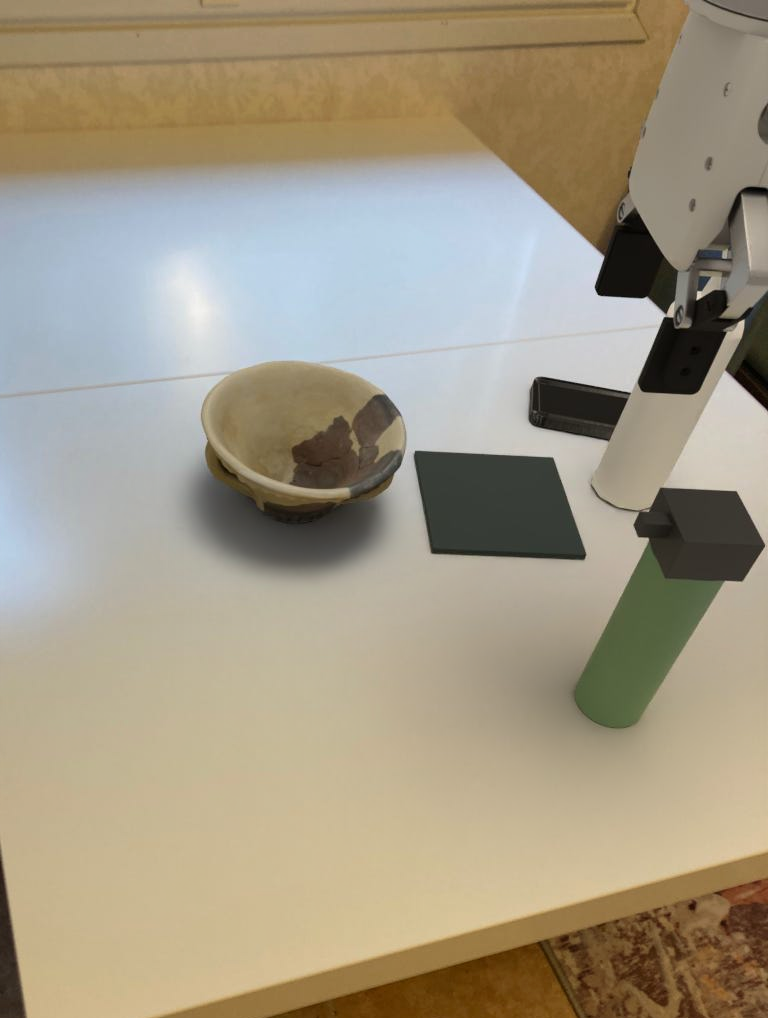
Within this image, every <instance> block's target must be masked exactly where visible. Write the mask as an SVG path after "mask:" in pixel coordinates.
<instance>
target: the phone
mask: <svg viewBox="0 0 768 1018" xmlns="http://www.w3.org/2000/svg"><path fill="white" fill-rule="evenodd" d="M630 394H631V392H630V391H624V390H618V389H613V388H609V387H603V386H596V385H593V384H587V383H580V382H576V381H569V380H565V379H559V378H553V377H549V376H536V377H534V379H533V381H532V384H531V387H530V396H529V397H530V398H529V414H528V416H529V417H528V418H529V422H531V423H532V425H533V424H534V425H535V426H538V427H542V428H547V429H554V430H557V431H563V432H568V433H575V434H579V435H580V434H581V435H585V436H589V437H590V436H591V437H595V438H601V439H607V440H610V439H611V436H612V434H613V432H614V430H615V428H616V425H617V423H618V421H619V419H620V416H621V414H622V412H623V410H624V408H625V405H626V403H627V401H628V399H629V397H630Z"/></svg>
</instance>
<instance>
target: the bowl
mask: <svg viewBox="0 0 768 1018" xmlns="http://www.w3.org/2000/svg"><path fill="white" fill-rule="evenodd" d="M200 421H201V425H202V429H203V431H204V433H205V437H206V440H207V442H206V444H205V449H204V457H205V461H206V465H207V468H208V470H209V472H210V474H211V475H213V477H214V478H215V479H216V480H218V481H219V482H221V483H222V484H224V485H226V486H228V487H229V488H231V489H233V490H234V491H237V492H239V493H240V494H242V495H244V496H247V497H249V498H251V500H253V501H255V502H256V503H255V504H256V507H257V508H258V509H259V510H260V511H261V512H263V513H264V515H265V516H268V517H270V518H272V519H274V520H276V521H277V520H278V521H280V522H283V523H287V524H288V523H290V524H300V523H301V524H303V523H306V522H314V521H316V520H318V519H321V518H323V517H325V516H326V515H327V514H329V513H331V512H333V511H334V510H335V508H336V507H337V506H340V505H344V504H351V503H352V504H353V503H357V502H362V501H365V500H369V499H374V498H376V497H377V496H379V495H381V494H382V493H384V492H385V491H386V490H387V489H388V488H389V487H390V486H391V485H392V482H393V479H394V477H395V473H396V472H397V471H398V470H400V468H401V466H402V465H403V464H402V463H403V460H404V457H405V453H406V449H407V438H408V437H407V430H406V429H407V428H406V424H405V421H404V418H403V415H402V413H401V412H400V410H399V409H398V408H397V406H396V405H395V403H394V402H393V401H392V400H391V398H390V397H389V396H388V395H387V394H386V393H385V392H384V391H383V390H382V389H381V388H379V387H378V386H376V385H375V384H373V383H371V382H370V381H368V380H366V379H365V378H363V377H361V376H359V375H357V374H355V373H352V372H348V371H345V370H343V369H340V368H337V367H333V366H329V365H323V364H318V363H313V362H308V361H301V360H272V361H266V362H262V363H259V364H254V365H251V366H249V367H245V368H242V369H239V370H237V371H234V372H232V373H231V374H229V375H227V376H225V377H224V378H222V379H221V380H220V381H218V382H217V383H216V384H215V385H214V386H213V387H212V388H211V389H210V390H209V392H208V393H207V395H206V396H205V398H204V400H203V402H202V405H201V410H200Z"/></svg>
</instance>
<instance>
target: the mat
mask: <svg viewBox="0 0 768 1018" xmlns="http://www.w3.org/2000/svg"><path fill="white" fill-rule="evenodd" d="M413 457H414V463H415V468H416V472H417V473H416V475H417V478H418V484H419V489H420V494H421V499H422V500H421V501H422V505H423V510H424V511H423V512H424V516H425V522H426V527H427V532H428V538H429V543H430V548H431V553H432V554H450V555H452V554H453V555H472V556H473V555H474V556H475V555H476V556H495V557H496V556H497V557H499V556H501V557H520V558H521V557H522V558H547V559H573V560H576V559H577V560H585V559H586V557H587V552H586V549H585V545H584V543H583V540H582V536H581V534H580V531H579V528H578V525H577V523H576V520H575V516H574V514H573V510H572V508H571V505H570V502H569V498H568V496H567V493H566V490H565V488H564V484H563V482H562V479H561V476H560V473H559V471H558V467H557V463H556V461H555V458H554V457H552V456H551V457H550V456H532V455H513V454H512V455H511V454H494V453H493V454H492V453H491V454H490V453H473V452H472V453H471V452H455V451H454V452H452V451H432V450H414V454H413Z"/></svg>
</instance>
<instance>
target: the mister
mask: <svg viewBox="0 0 768 1018" xmlns="http://www.w3.org/2000/svg"><path fill="white" fill-rule="evenodd" d="M739 494H740V493H738V490H721V489H720V490H719V489H702V488H701V489H700V488H681V487H680V488H677V487H663V488H660V489H659V491H658V493H657V495H656V497H655V500H654V502H653V504H652V506H651V507H649V510H648V511H642V510H639V512H638V514H637V516H636V518H635V521H634V523H633V529H634V531H635V533H636V536H637V538H640V539H642V538H643V539H648V541H647V544H646V546H645V548H644V550H643V552H642V554H641V556H640V558H639V560H638V562H637V563H636V565H635V567H634V570H633V571H632V574H631V576H630V577H629V579H628V581H627V584H626V585H625V587H624V590H623V591H622V593H621V596H620V597H619V599H618V601H617V603H616V605H615V607H614V609H613V610H612V613H611V615H610V617H609V618H608V620H607V623H606V625H605V627H604V629H603V631H602V632H601V634H600V636H599V639H598V641H597V643H596V644H595V647H594V649H593V651H592V652H591V654H590V656H589V657H588V660H587V663H586V665H585V667H584V668H583V671H582V672H581V674H580V676H579V678H578V680H577V682H576V684H575V687H574V691H573V693H574V699H575V702H576V704H577V706H578V708H579V709H580V711H581V712H582V713H583V714H584V715H585V716H586V717H588V718H589V719H590V720H592V721H594V722H595V723H597V724H599V725H602V726H605V727H608V728H613V729H614V728H615V729H622V728H628V727H631V726H633V725H634V724H635V725H636V723H638V721H640V719H641V718H642V716H643V715H644V713H645V712H646V710H647V709H648V706H649V705H650V703H651V702H652V701H653V698H655V696H656V695H657V692H658V690H659V689H660V687H661V686H662V684H663V682H664V681H665V679H666V677H667V676H668V674H669V673H670V671H671V669H672V667H673V666H674V665H675V663H676V661H677V660H678V658H679V657H680V655H681V654H682V652H683V650H684V649H685V647H686V645H687V644H688V642H689V640H690V639H691V637H692V635H693V634H694V632H695V630H696V629H697V628H698V625H699V624H700V622H701V621H702V619H703V617H704V616H705V614H706V612H707V611H708V610H709V608H710V607H711V605H712V603H713V601H714V600H715V599H716V597H717V594H718V593H719V592H720V590H721V588H722V587H723V585H724V584H725V582H739V583H740V582H744V581H745V579H746V578H747V576H748V575H749V573H750V571H751V570H752V568H753V566H754V565H755V563H756V562H757V560H758V559H759V557H760V555H761V554H762V552H764V549H765V548H766V543H765V541H764V540H763V538H762V536H761V534H760V531H759V530H758V529H757V527H756V525H755V522H754V521H753V518H752V517H751V515H750V513H749V510H748V509H747V507H746V505H745V504H744V502H743V500H742V499H741V496H740V495H739Z"/></svg>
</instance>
